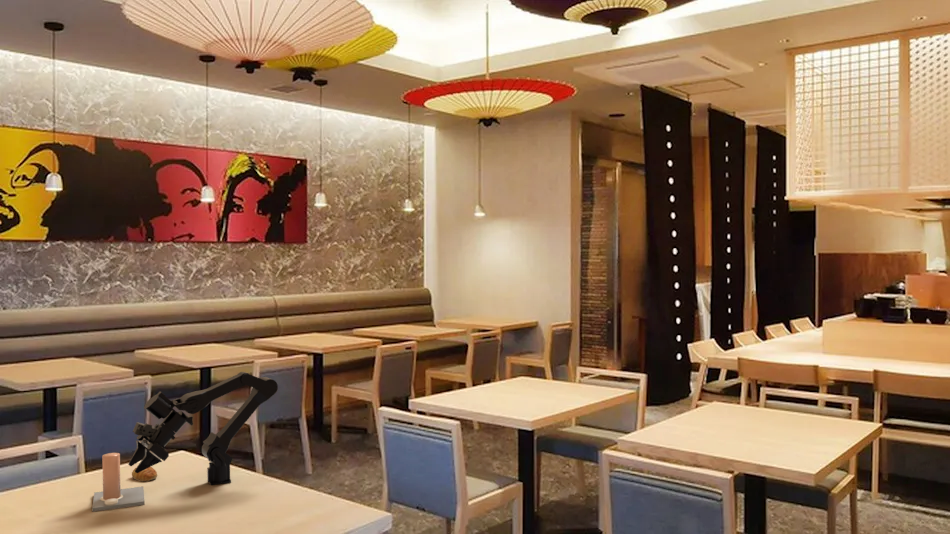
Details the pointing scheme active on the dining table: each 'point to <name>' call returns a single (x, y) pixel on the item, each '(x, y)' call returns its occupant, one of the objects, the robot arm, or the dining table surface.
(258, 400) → the robot arm
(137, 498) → the board
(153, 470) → the pastry
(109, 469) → the canister
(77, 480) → the dining table surface
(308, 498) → the dining table surface
